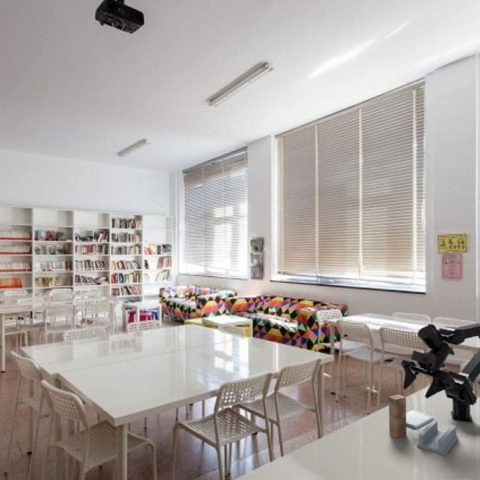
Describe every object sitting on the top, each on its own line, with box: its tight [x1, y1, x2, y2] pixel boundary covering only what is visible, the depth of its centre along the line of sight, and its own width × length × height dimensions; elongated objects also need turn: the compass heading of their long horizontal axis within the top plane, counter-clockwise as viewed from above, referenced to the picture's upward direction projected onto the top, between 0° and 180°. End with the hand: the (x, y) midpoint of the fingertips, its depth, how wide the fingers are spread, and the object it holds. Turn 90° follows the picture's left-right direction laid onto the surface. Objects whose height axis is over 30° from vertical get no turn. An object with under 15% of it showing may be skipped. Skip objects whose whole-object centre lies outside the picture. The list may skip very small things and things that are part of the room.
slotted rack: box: [417, 419, 459, 456], centre depth 128 cm, size 14×8×4 cm, turn 137°
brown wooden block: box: [388, 394, 407, 439], centre depth 134 cm, size 4×3×12 cm, turn 115°
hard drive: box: [406, 409, 435, 430], centre depth 144 cm, size 2×8×12 cm
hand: (414, 393), depth 137 cm, fingers open, 9 cm apart
